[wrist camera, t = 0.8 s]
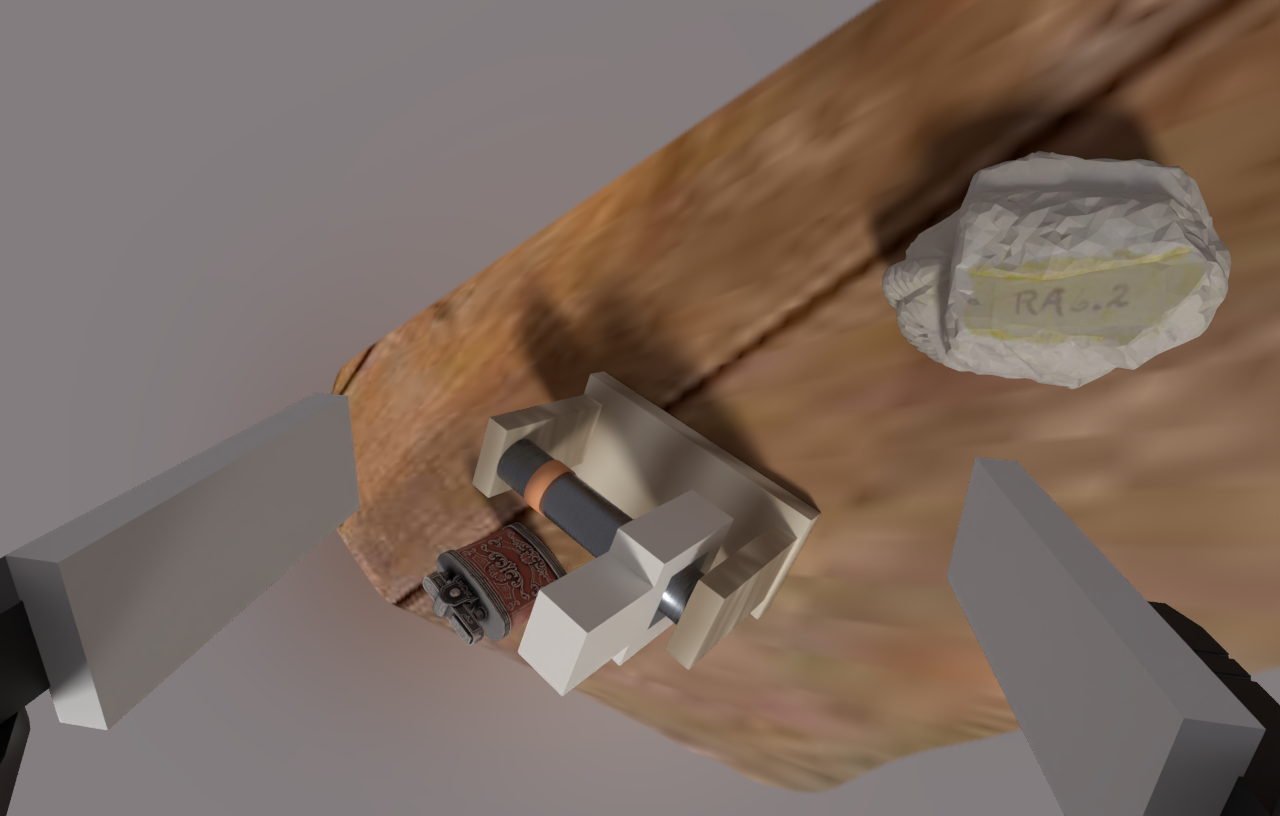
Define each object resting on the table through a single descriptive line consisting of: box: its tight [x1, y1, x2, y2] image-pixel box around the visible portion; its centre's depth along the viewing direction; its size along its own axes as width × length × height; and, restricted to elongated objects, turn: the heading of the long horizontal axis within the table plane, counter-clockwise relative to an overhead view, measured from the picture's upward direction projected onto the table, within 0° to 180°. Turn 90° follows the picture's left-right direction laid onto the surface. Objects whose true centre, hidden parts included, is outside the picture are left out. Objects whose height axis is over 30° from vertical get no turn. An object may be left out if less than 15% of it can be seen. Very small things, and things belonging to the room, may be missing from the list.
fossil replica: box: [882, 151, 1231, 389], centre depth 28 cm, size 12×8×10 cm
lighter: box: [423, 522, 567, 645], centre depth 52 cm, size 8×3×10 cm, turn 56°
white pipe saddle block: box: [518, 490, 734, 696], centre depth 35 cm, size 3×7×12 cm, turn 156°
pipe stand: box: [472, 371, 821, 670], centre depth 41 cm, size 18×8×11 cm, turn 66°
